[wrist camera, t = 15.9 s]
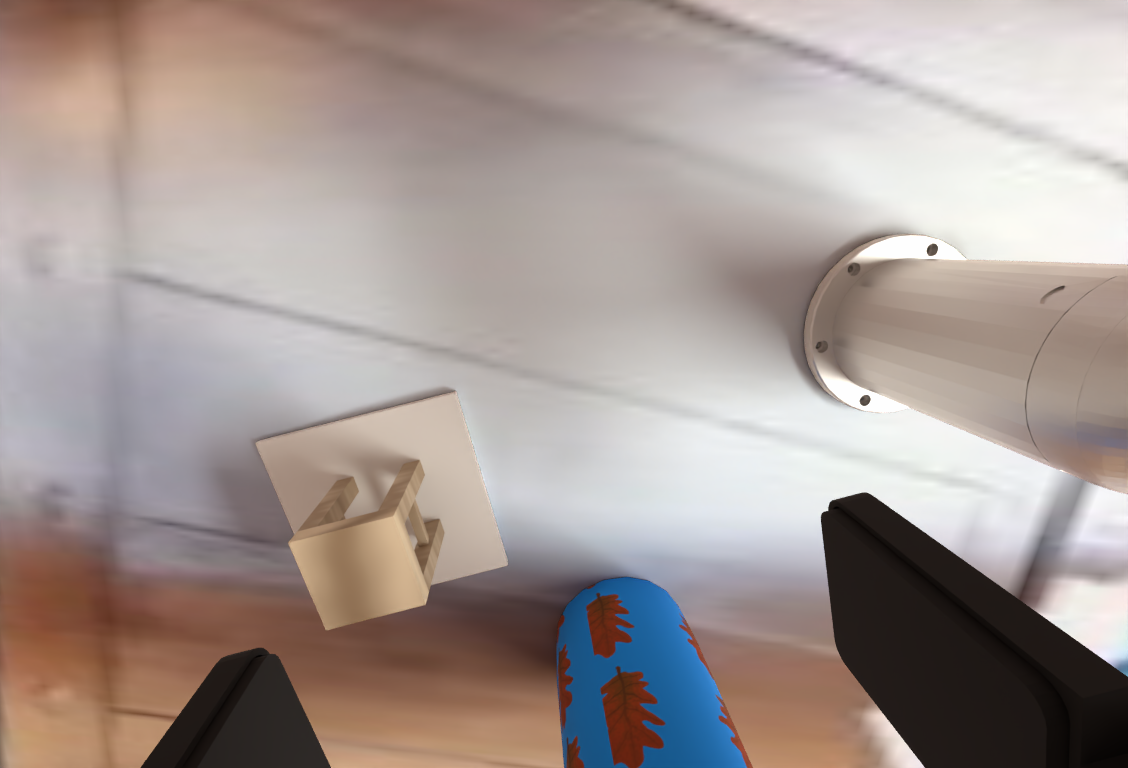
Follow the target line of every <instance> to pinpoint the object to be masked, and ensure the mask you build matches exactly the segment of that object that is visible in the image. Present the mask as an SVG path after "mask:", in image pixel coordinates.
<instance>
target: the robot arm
mask: <svg viewBox="0 0 1128 768" xmlns="http://www.w3.org/2000/svg"><path fill="white" fill-rule="evenodd" d="M848 267H849V270H848ZM817 343H818V345H817ZM816 345H817V347H816ZM804 347H805V354H806V358H807V361H808V365H809V367H810V369H811V371H812V373H813V375H814V377H815V379H816V381H817V382H818V383H819V384H820V385H821V387H822V388H823V389H824V390H825V391H826V392H827V393H828V394H830V395H831V396H832V397H834V398H835V399H836V400H838V401H840V402H842V403H844V404H846V405H848V406H850V407H853V408H855V409H858V410H861V411H867V412H874V413H886V412H896V411H900V410H904V409H908V408H911V409H914V410H916V411H919V412H921V413H923V414H926V415H928V416H931V417H933V418H935V419H938V420H940V421H942V422H945V423H947V424H950V425H952V426H954V427H957V428H959V429H962V430H964V431H966V432H969V433H971V434H974V435H976V436H978V437H981V438H983V439H986V440H988V441H990V442H993V443H995V444H998V445H1000V446H1002V447H1005V448H1007V449H1010V450H1012V451H1014V452H1017V453H1019V454H1022V455H1024V456H1026V457H1029V458H1031V459H1033V460H1036V461H1038V462H1041V463H1043V464H1046V465H1048V466H1050V467H1053V468H1055V469H1058V470H1060V471H1063V472H1066V473H1068V474H1070V475H1073V476H1075V477H1078V478H1080V479H1083V480H1085V481H1087V482H1090V483H1092V484H1095V485H1098V486H1101V487H1104V488H1107V489H1109V490H1113V491H1116V492H1120V493H1125V494H1128V265H1125V264H1093V263H1061V262H1028V261H996V260H967V259H966V258H965V257H964V256H963V255H962V254H961V253H960V252H959V251H958V250H956V249H955V248H954V247H953V246H951V245H949V244H947V243H946V242H944V241H942V240H940V239H937V238H933V237H930V236H926V235H916V234H901V235H890V236H886V237H882V238H878V239H874V240H872V241H870V242H867V243H865V244H863V245H861V246H859V247H857V248H856V249H854V250H853V251H851V252H850V253H848V254H847V255H846V256H844V257H843V258H842V259H841V260H840V261H839V262H838V263H837V264H836V265H835V266H834V267H833V268H832V269H831V270H830V271H829V272H828V273H827V275H826V276H825V278H824V279H823V280H822V282H821V283H820V284H819V286H818V288H817V290H816V292H815V294H814V296H813V298H812V300H811V302H810V306H809V309H808V312H807V315H806V320H805V328H804ZM821 525H822V534H823V542H824V551H825V560H826V568H827V577H828V586H829V594H830V603H831V612H832V620H833V629H834V638H835V643H836V647H837V650H838V652H839V654H840V656H841V658H842V660H843V662H844V663H845V665H846V666H847V667H848V669H849V670H850V671H851V673H852V674H853V675H854V676H855V678H856V679H857V680H858V682H859V683H860V684H861V686H862V687H863V688H864V689H865V691H866V692H867V693H868V695H869V696H870V697H871V698H872V700H873V701H874V702H875V704H876V705H877V706H878V707H879V709H880V710H881V711H882V713H883V714H884V715H885V717H886V718H887V719H888V720H889V722H890V723H891V724H892V726H893V727H894V728H895V729H896V731H897V732H898V733H899V735H900V736H901V737H902V738H903V740H904V741H905V742H906V744H907V745H908V746H909V747H910V749H911V750H912V751H913V753H914V754H915V755H916V757H917V758H918V759H919V760H920V762H921V763H922V764H923V766H924V767H925V768H1128V677H1127V676H1126V675H1124V674H1123V673H1121V672H1120V671H1119V670H1117V669H1116V668H1114V667H1113V666H1112V665H1110V664H1109V663H1107V662H1106V661H1105V660H1103V659H1102V658H1100V657H1099V656H1098V655H1096V654H1095V653H1093V652H1092V651H1091V650H1089V649H1088V648H1086V647H1085V646H1083V645H1082V644H1081V643H1079V642H1078V641H1076V640H1075V639H1074V638H1072V637H1071V636H1069V635H1068V634H1067V633H1065V632H1064V631H1062V630H1061V629H1060V628H1058V627H1057V626H1055V625H1054V624H1053V623H1051V622H1050V621H1048V620H1047V619H1045V618H1044V617H1043V616H1041V615H1040V614H1038V613H1037V612H1036V611H1034V610H1033V609H1031V608H1030V607H1029V606H1027V605H1026V604H1024V603H1023V602H1022V601H1020V600H1019V599H1017V598H1016V597H1015V596H1013V595H1012V594H1010V593H1009V592H1007V591H1006V590H1005V589H1003V588H1002V587H1000V586H999V585H998V584H996V583H995V582H993V581H992V580H991V579H989V578H988V577H986V576H985V575H984V574H982V573H981V572H979V571H978V570H977V569H975V568H974V567H972V566H971V565H969V564H968V563H967V562H965V561H964V560H962V559H961V558H960V557H958V556H957V555H955V554H954V553H953V552H951V551H950V550H948V549H947V548H946V547H944V546H943V545H941V544H940V543H939V542H937V541H936V540H934V539H933V538H931V537H930V536H929V535H927V534H926V533H924V532H923V531H922V530H920V529H919V528H917V527H916V526H915V525H913V524H912V523H910V522H909V521H908V520H906V519H905V518H903V517H902V516H901V515H899V514H898V513H896V512H895V511H893V510H892V509H891V508H889V507H888V506H886V505H885V504H884V503H882V502H881V501H879V500H878V499H877V498H875V497H874V496H872V495H871V494H869V493H859V494H855V495H852V496H848V497H844V498H840V499H836V500H832V501H831V502H830V504H829V507H828V511H826V512H823V513H822V515H821ZM141 768H331V767H330V765H329V762H328V760H327V758H326V756H325V754H324V752H323V750H322V748H321V745H320V743H319V741H318V739H317V737H316V735H315V733H314V731H313V728H312V726H311V724H310V722H309V720H308V718H307V716H306V714H305V712H304V709H303V707H302V705H301V703H300V701H299V699H298V697H297V695H296V692H295V690H294V688H293V686H292V684H291V682H290V680H289V678H288V675H287V673H286V671H285V669H284V667H283V665H282V663H281V661H280V659H279V657H278V656H276V655H275V654H269V652H268V651H267V650H265V649H264V648H256V649H252V650H248V651H244V652H240V653H236V654H232V655H228V656H225V657H223V658H221V659H220V660H219V661H218V662H217V663H216V665H215V666H214V668H213V669H212V670H211V672H210V673H209V674H208V676H207V677H206V679H205V680H204V681H203V683H202V684H201V685H200V687H199V688H198V689H197V691H196V692H195V694H194V695H193V696H192V698H191V699H190V700H189V702H188V703H187V705H186V706H185V707H184V709H183V710H182V711H181V713H180V714H179V716H178V717H177V718H176V720H175V721H174V722H173V724H172V725H171V727H170V728H169V729H168V731H167V732H166V733H165V735H164V736H163V738H162V739H161V740H160V742H159V743H158V744H157V746H156V747H155V749H154V750H153V751H152V753H151V754H150V755H149V757H148V758H147V760H146V761H145V762H144V764H143V765H142V766H141Z"/></svg>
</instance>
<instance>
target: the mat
mask: <svg viewBox="0 0 1128 768" xmlns="http://www.w3.org/2000/svg"><path fill="white" fill-rule="evenodd" d="M255 444H256V447H257V449H258V451H259V454H260V456H261V458H262V461H263V463H264V465H265V468H266V470H267V472H268V475H269V477H270V479H271V482H272V484H273V486H274V489H275V491H276V493H277V496H278V498H279V500H280V503H281V505H282V507H283V510H284V512H285V514H286V517H287V519H288V521H289V524H290V526H291V528H292V531H293V533H294V535H295V534H296V532H297V531H298V530H299V528H300V527H301V526H302V525H303V523H304V522H305V521H306V519H307V518H308V517H309V516H310V514H311V513H312V512H313V511H314V509H315V508H316V507H317V505H318V504H319V503H320V502H321V500H322V499H323V498H324V496H325V495H326V494H327V493H328V491H329V490H330V489H331V488H332V486H333V485H334V484H335V482H336V481H338V480H342V479H346V478H350V477H354V479H355V482H356V484H357V487H358V490H359V493H358V494H357V496H356V497H355V499H354V500H353V502H352V503H351V505H350V506H349V508H348V509H347V511H346V512H345V514H344V516H345V519H349V518H353V517H357V516H360V515H364V514H368V513H372V512H376V511H378V510H379V508H380V506H381V504H382V503H383V501H384V499H385V497H386V495H387V493H388V491H389V490H390V488H391V486H392V484H393V482H394V480H395V478H396V477H397V475H398V473H399V471H400V469H401V467H402V465H403V464H405V463H409V462H413V461H417V460H420V462H421V464H422V467H423V470H424V473H425V476H424V479H423V481H422V483H421V486H420V488H419V491H418V493H417V495H416V498H415V499H416V502H417V505H418V508H419V511H420V513H421V516H422V519H423V522H424V523H425V522H429V521H433V520H437V519H440V521H441V523H442V526H443V529H444V532H445V534H444V537H443V541H442V545H441V549H440V553H439V556H438V560H437V564H436V568H435V571H434V575H433V579H432V583H431V585H434V584H438V583H442V582H446V581H450V580H454V579H457V578H461V577H465V576H469V575H473V574H477V573H481V572H485V571H489V570H493V569H497V568H500V567H504V566H508V559H507V556H506V552H505V549H504V546H503V543H502V539H501V536H500V533H499V530H498V526H497V523H496V520H495V517H494V513H493V510H492V507H491V503H490V500H489V497H488V494H487V490H486V487H485V484H484V481H483V477H482V474H481V471H480V468H479V464H478V461H477V458H476V454H475V451H474V448H473V445H472V441H471V438H470V435H469V432H468V428H467V425H466V422H465V419H464V415H463V412H462V409H461V405H460V402H459V399H458V396H457V392H456V391H454V392H450V393H446V394H442V395H438V396H434V397H430V398H426V399H422V400H418V401H414V402H410V403H406V404H402V405H398V406H394V407H390V408H386V409H382V410H378V411H374V412H370V413H366V414H362V415H358V416H354V417H350V418H346V419H342V420H338V421H334V422H330V423H326V424H322V425H318V426H314V427H310V428H306V429H302V430H298V431H294V432H290V433H286V434H282V435H278V436H274V437H270V438H266V439H262V440H259V441H258V442H256V443H255ZM405 526H406V529H407V532H408V535H409V537H410V540H411V543H412V546H413V549H414V550H415V547H416V544H417V539H416V536H415V533H414V530H413V527H412V525H411V522H410V519H409V516H408V517H407V519H406V522H405Z"/></svg>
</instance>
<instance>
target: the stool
mask: <svg viewBox="0 0 1128 768" xmlns="http://www.w3.org/2000/svg"><path fill="white" fill-rule="evenodd" d="M424 476H425V473H424V470H423V467H422V464H421V462H420V460H417V461H413V462H409V463H405V464H403V465H402V467H401V469H400V471H399V473H398V475H397V477H396V478H395V480H394V482H393V484H392V486H391V488H390V490H389V491H388V493H387V495H386V497H385V499H384V501H383V503H382V504H381V506H380V508H379V510H378V511H376V512H372V513H368V514H364V515H360V516H357V517H353V518H349V519H345V516H344V514H345V512H346V511H347V509H348V508H349V506H350V505H351V503H352V502H353V500H354V499H355V497H356V496H357V494H358V493H359V490H358V487H357V484H356V482H355V479H354V477H350V478H346V479H342V480H338V481H336V482H335V484H334V485H333V486H332V488H331V489H330V490H329V491H328V493H327V494H326V495H325V496H324V498H323V499H322V500H321V502H320V503H319V504H318V505H317V507H316V508H315V509H314V511H313V512H312V513H311V514H310V516H309V517H308V518H307V519H306V521H305V522H304V523H303V525H302V526H301V527H300V528H299V530H298V531H297V532H296V534H295V535H294V536H293V537H292V539H291V540H290V541H289V542H288V544H289V546H290V548H291V551H292V553H293V555H294V558H295V560H296V562H297V565H298V567H299V569H300V571H301V574H302V576H303V578H304V581H305V583H306V585H307V588H308V590H309V592H310V595H311V597H312V599H313V601H314V604H315V606H316V608H317V611H318V613H319V615H320V618H321V620H322V622H323V624H324V627H325V629H326V630H330V629H333V628H337V627H341V626H345V625H349V624H353V623H357V622H361V621H365V620H368V619H372V618H376V617H380V616H384V615H388V614H392V613H396V612H400V611H403V610H407V609H411V608H415V607H419V606H423V605H426V602H427V598H428V594H429V590H430V587H431V583H432V579H433V575H434V571H435V568H436V564H437V560H438V556H439V553H440V549H441V545H442V541H443V537H444V534H445V532H444V529H443V526H442V523H441V521H440V519H437V520H433V521H429V522H425V523H424V522H423V519H422V516H421V513H420V511H419V508H418V505H417V502H416V499H415V498H416V495H417V493H418V491H419V488H420V486H421V483H422V481H423V479H424ZM408 516H409V519H410V522H411V525H412V527H413V530H414V533H415V536H416V539H417V544H416V547H415V550H414V549H413V546H412V543H411V540H410V537H409V535H408V532H407V529H406V526H405V522H406V519H407V517H408Z"/></svg>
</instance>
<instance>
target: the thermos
mask: <svg viewBox="0 0 1128 768" xmlns="http://www.w3.org/2000/svg"><path fill="white" fill-rule="evenodd" d="M556 646H557V686H558V698H559V710H560V722H561V734H562V746H563V758H564V768H753V767H752V765H751V762H750V760H749V758H748V756H747V753H746V751H745V749H744V747H743V744H742V742H741V740H740V738H739V735H738V733H737V731H736V729H735V726H734V724H733V722H732V720H731V717H730V715H729V713H728V711H727V708H726V706H725V704H724V702H723V699H722V697H721V695H720V693H719V690H718V688H717V686H716V684H715V681H714V679H713V677H712V675H711V672H710V670H709V668H708V666H707V663H706V661H705V659H704V657H703V654H702V652H701V650H700V648H699V645H698V643H697V641H696V639H695V637H694V635H693V633H692V631H691V629H690V627H689V626H688V624H687V622H686V620H685V618H684V616H683V614H682V612H681V611H680V609H679V607H678V605H677V604H676V603H675V601H674V600H673V599H672V598H671V596H670V595H669V594H668V593H667V591H665V590H664V589H662V588H660V587H658V586H657V585H655V584H653V583H652V582H650V581H647V580H641V579H636V578H630V577H622V578H615V579H607V580H603V581H601V582H599V583H597V584H594V585H592V586H590V587H588V588H586V589H584V590H583V591H581V592H580V593H579V594H578V595H577V596H576V597H575V598H574V599H573V600H572V601H571V602H570V603H568V604H567V606H566V608H565V610H564V612H563V614H562V616H561V618H560V620H559V622H558V630H557V641H556Z"/></svg>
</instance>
